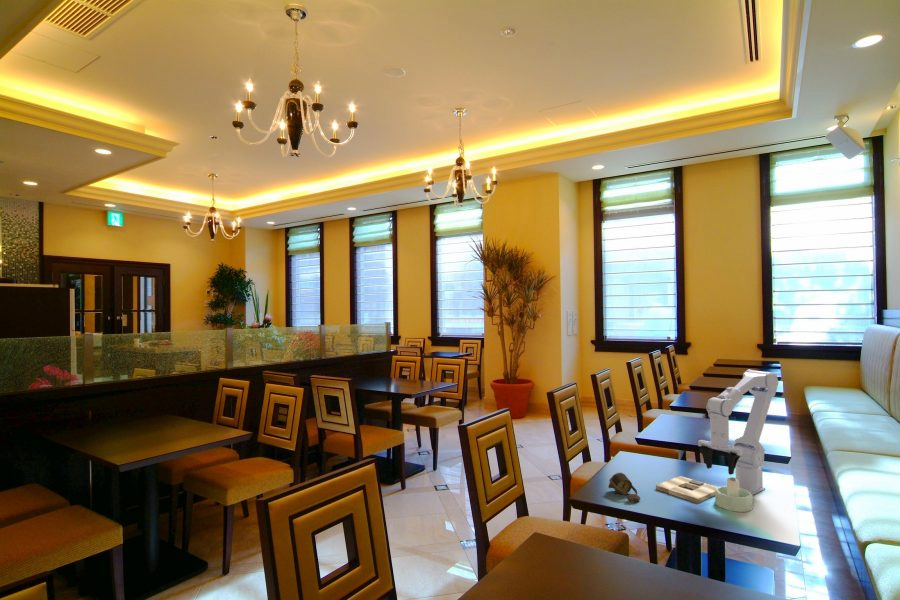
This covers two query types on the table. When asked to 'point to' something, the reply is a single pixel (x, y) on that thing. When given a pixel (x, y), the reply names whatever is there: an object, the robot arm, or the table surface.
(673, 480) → the plate
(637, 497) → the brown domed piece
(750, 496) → the pale green bowl
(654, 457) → the table surface
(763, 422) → the robot arm
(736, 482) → the cell
